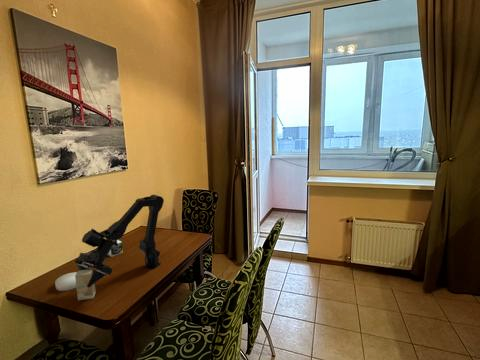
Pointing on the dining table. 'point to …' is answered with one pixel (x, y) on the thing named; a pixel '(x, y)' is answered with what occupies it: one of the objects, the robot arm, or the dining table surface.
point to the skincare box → (84, 284)
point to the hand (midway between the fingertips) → (82, 285)
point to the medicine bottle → (116, 249)
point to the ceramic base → (66, 282)
